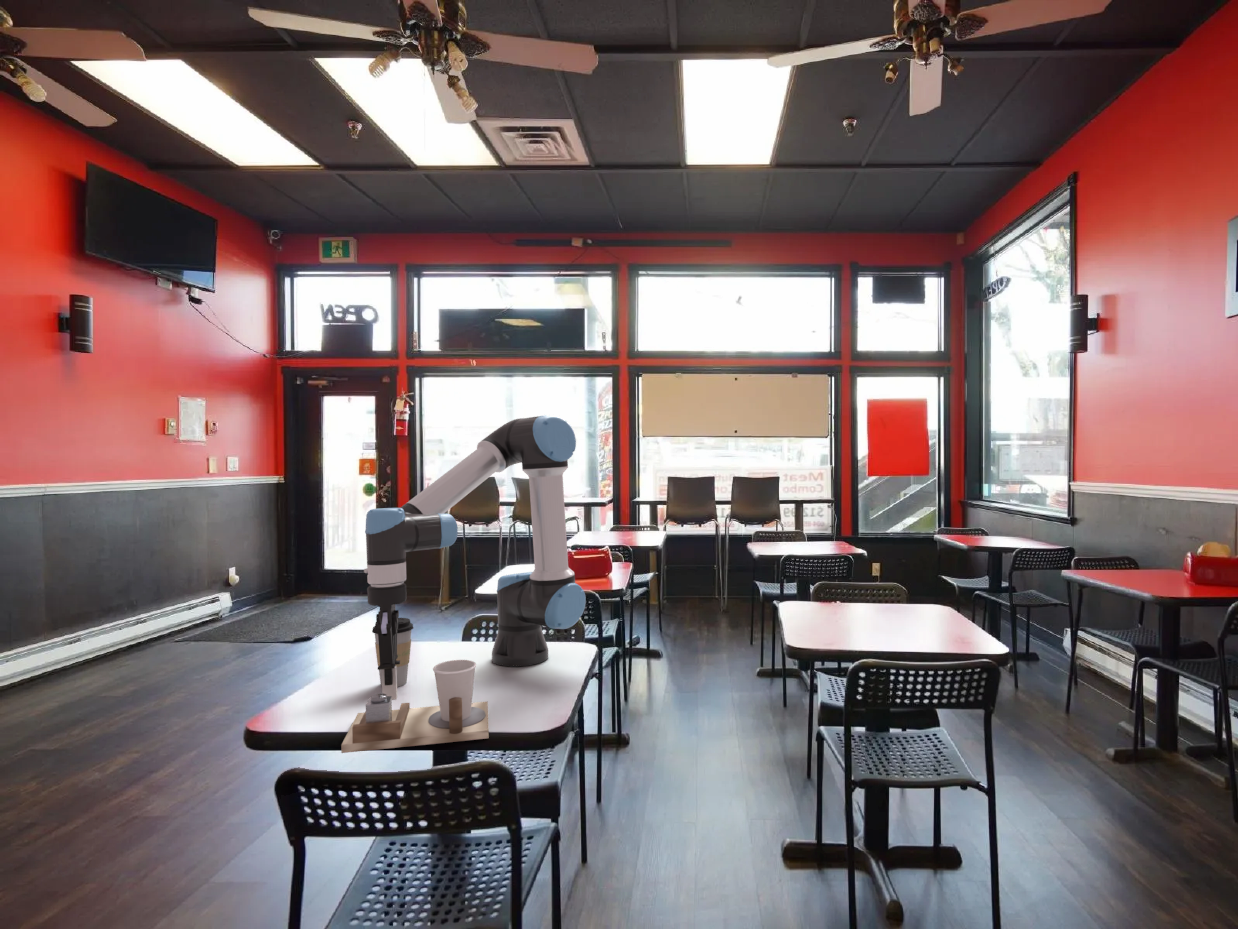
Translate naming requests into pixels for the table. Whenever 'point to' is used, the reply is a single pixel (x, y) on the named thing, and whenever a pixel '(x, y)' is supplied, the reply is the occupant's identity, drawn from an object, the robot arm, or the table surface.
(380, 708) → the grey square bottle
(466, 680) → the dixie cup
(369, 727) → the board
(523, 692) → the table surface
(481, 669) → the table surface
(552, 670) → the table surface
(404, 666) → the coffee cup
